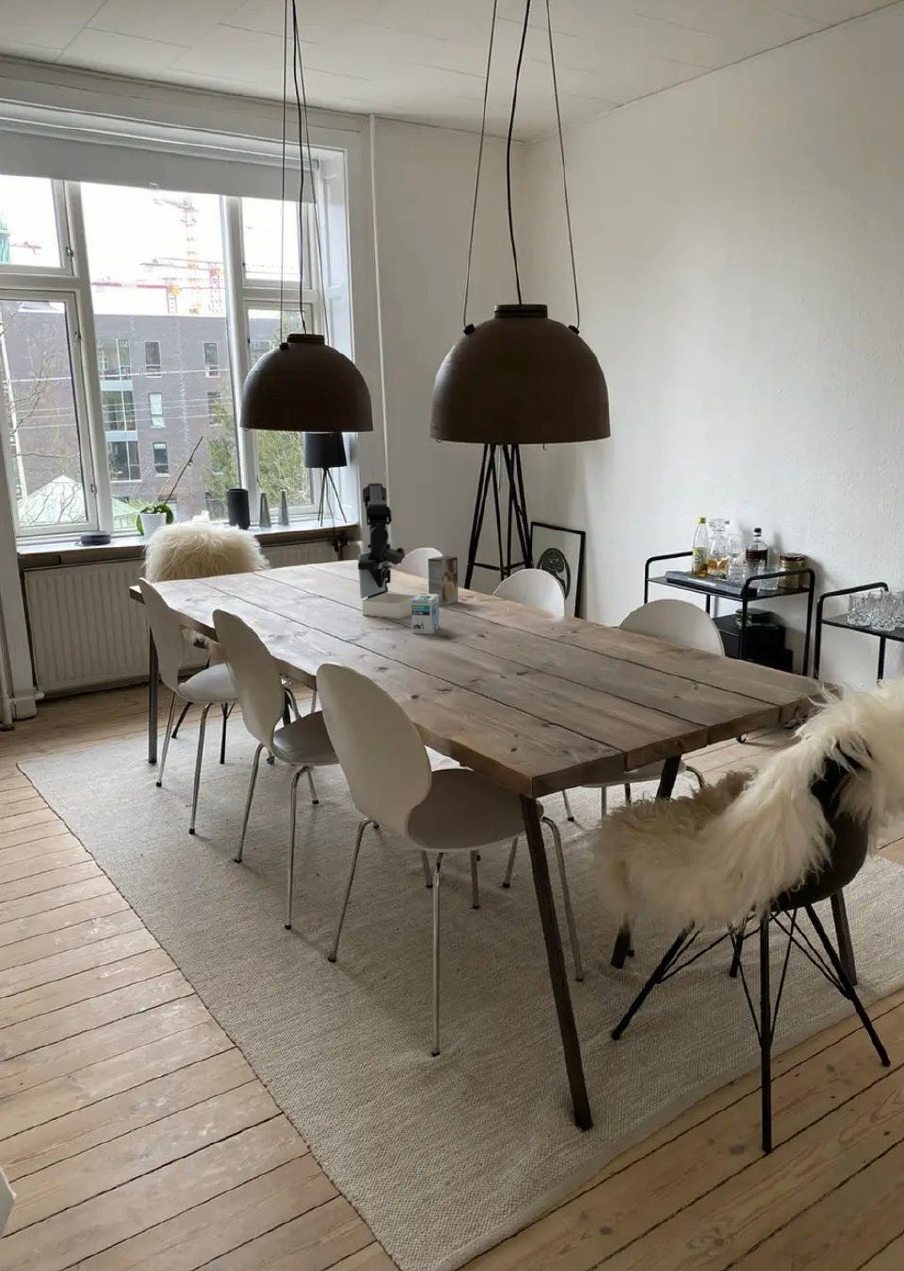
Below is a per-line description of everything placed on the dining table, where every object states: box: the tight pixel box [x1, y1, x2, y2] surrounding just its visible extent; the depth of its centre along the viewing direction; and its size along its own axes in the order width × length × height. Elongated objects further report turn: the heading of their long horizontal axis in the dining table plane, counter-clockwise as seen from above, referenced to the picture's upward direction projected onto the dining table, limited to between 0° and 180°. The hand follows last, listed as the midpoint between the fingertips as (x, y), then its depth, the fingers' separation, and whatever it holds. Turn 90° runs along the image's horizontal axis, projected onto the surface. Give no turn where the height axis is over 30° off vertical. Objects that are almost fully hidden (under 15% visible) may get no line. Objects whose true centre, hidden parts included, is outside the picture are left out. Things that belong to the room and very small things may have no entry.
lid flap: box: [357, 551, 385, 599], centre depth 332 cm, size 15×15×1 cm
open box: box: [361, 591, 418, 620], centre depth 331 cm, size 14×16×5 cm
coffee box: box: [427, 555, 459, 607], centre depth 345 cm, size 9×6×16 cm
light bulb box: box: [411, 592, 440, 635], centre depth 305 cm, size 11×7×11 cm, turn 168°
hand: (380, 587), depth 331 cm, fingers closed, pressing on lid flap
